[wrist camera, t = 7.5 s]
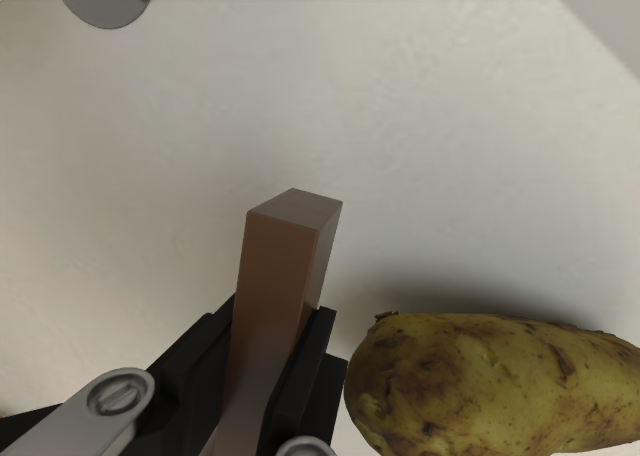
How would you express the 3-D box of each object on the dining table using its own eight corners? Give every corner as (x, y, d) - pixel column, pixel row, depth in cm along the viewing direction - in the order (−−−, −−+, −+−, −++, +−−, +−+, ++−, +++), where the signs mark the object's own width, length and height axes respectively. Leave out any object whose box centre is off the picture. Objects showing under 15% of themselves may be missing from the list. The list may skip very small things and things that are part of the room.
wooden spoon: (239, 173, 10) (174, 189, 7) (402, 216, 9) (404, 255, 6) (200, 482, 14) (152, 567, 12) (303, 528, 14) (278, 631, 11)
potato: (542, 437, 18) (638, 647, 11) (342, 337, 20) (307, 466, 12) (648, 333, 15) (881, 527, 8) (403, 222, 16) (407, 300, 9)
